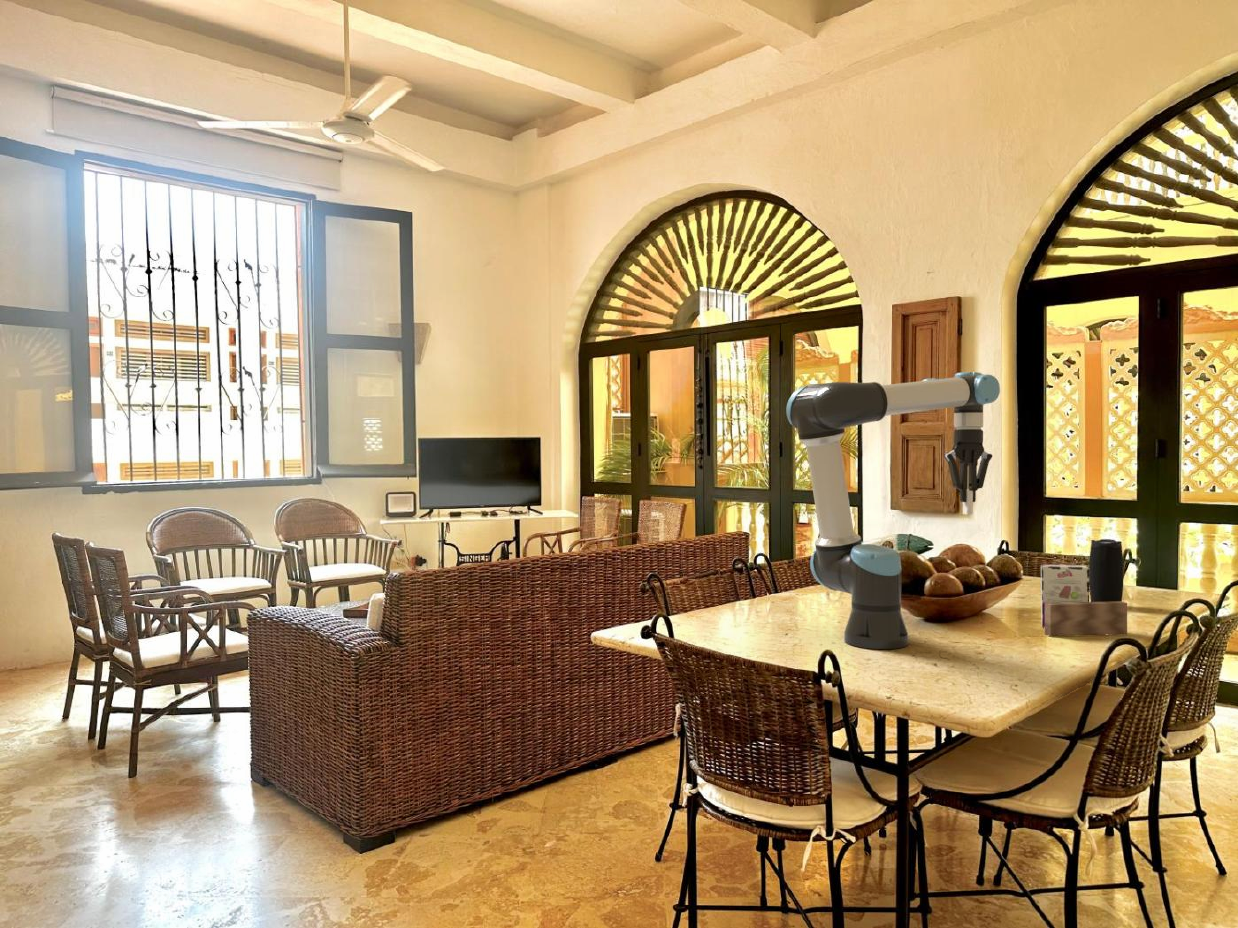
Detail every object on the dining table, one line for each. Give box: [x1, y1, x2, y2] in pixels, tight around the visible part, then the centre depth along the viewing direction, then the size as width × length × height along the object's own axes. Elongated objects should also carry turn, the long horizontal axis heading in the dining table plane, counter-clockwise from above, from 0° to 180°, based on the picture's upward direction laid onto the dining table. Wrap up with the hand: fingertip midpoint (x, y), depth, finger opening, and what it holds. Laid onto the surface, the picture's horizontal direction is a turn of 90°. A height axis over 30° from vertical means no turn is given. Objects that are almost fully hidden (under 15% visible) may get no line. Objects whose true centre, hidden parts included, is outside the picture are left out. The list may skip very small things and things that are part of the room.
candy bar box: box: [1040, 563, 1090, 629], centre depth 227 cm, size 11×5×16 cm, turn 68°
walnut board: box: [1044, 600, 1128, 637], centre depth 219 cm, size 20×2×8 cm, turn 94°
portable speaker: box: [1088, 538, 1124, 602], centre depth 254 cm, size 9×9×20 cm
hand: (967, 514), depth 239 cm, fingers closed
